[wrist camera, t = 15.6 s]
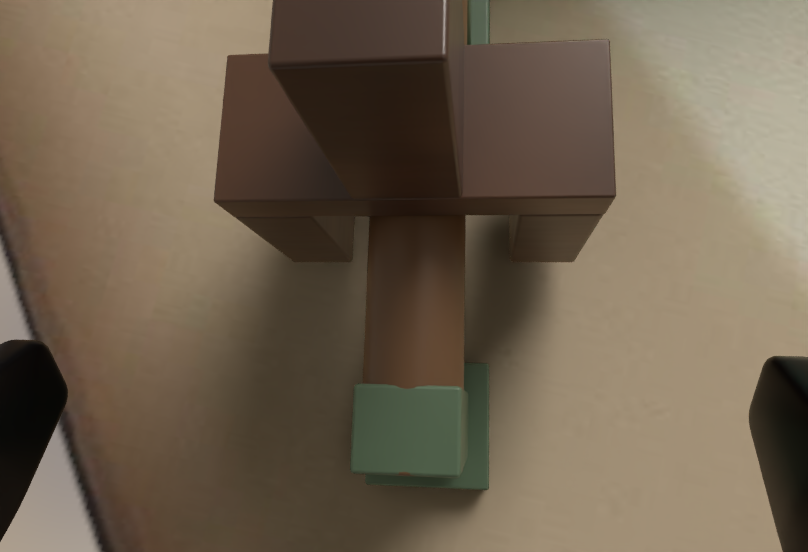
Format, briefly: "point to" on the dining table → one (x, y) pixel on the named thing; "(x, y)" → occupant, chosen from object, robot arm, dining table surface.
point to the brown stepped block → (413, 129)
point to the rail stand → (421, 349)
